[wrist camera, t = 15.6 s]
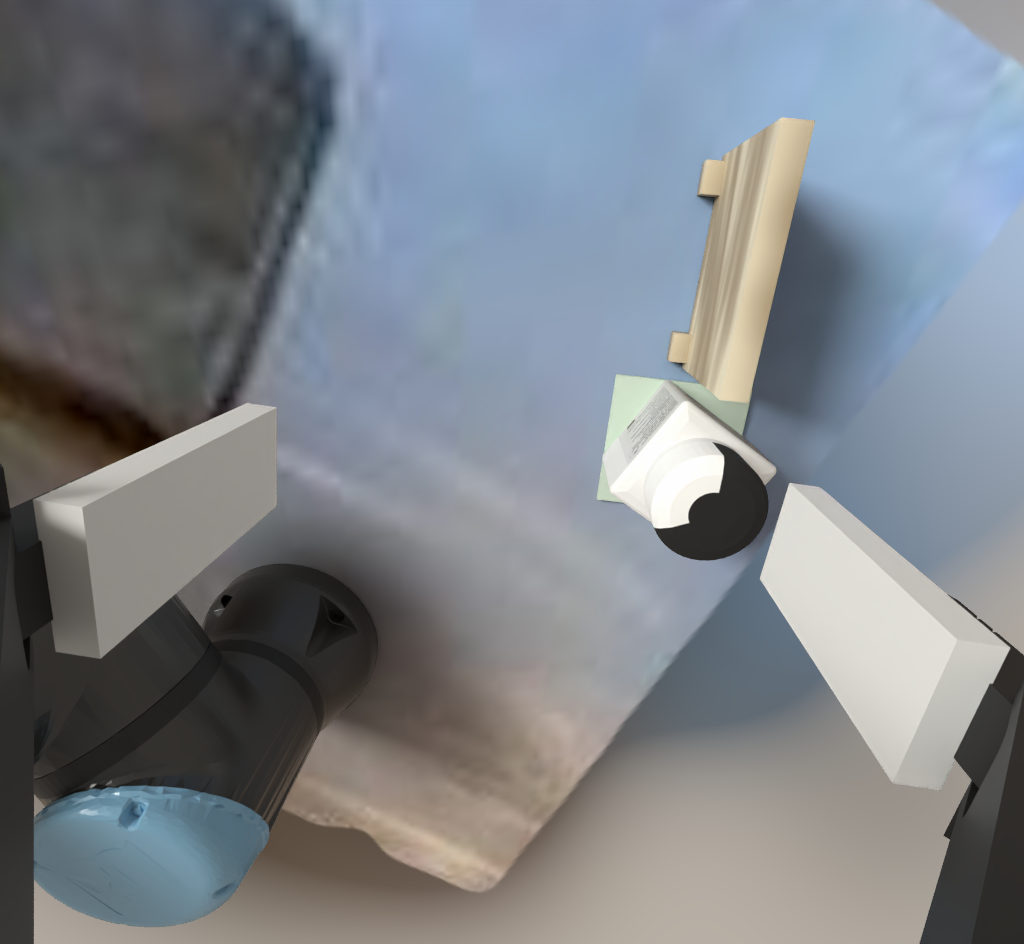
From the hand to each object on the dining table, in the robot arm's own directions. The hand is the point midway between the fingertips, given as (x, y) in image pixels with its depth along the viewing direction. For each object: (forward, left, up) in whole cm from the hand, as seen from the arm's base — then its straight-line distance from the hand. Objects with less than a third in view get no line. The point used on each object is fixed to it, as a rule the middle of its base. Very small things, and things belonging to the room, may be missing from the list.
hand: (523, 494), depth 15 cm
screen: (+11, +6, -31) cm, 33 cm away
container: (+10, -7, -30) cm, 33 cm away
